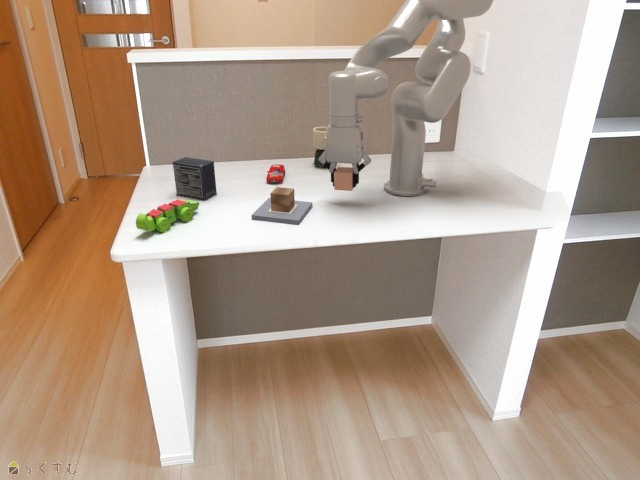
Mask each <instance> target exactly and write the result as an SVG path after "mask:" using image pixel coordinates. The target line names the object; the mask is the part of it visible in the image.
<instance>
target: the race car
mask: <svg viewBox="0 0 640 480" xmlns="http://www.w3.org/2000/svg"><path fill="white" fill-rule="evenodd" d="M266 172H267V175H266V183H267V184H270V185H271V184H273V185H275V184H277V185H278V184H283V182H284V179H285V175H286V167H285V165H284V164H271V165H270V167H269V169H268V170H267V171H266Z"/></svg>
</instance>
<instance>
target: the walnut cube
mask: <svg viewBox="0 0 640 480" xmlns="http://www.w3.org/2000/svg"><path fill="white" fill-rule="evenodd" d="M269 196H270V198H271V211H278V212H287V213H289V212H290V211H291V210H292V208H293V207H294V206H295V201H296V200H295V188H289V187H281V186H276V187H275V188H274V189H273V190H272V191H271V192H270V195H269Z"/></svg>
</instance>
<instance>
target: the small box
mask: <svg viewBox="0 0 640 480" xmlns="http://www.w3.org/2000/svg"><path fill="white" fill-rule="evenodd" d="M214 163H215V161H214V160H208V159H201V158H196V157H195V158H193V157H189V156H188V157H186V156H185V157H181V158H180V159H176V160H174V161H172V168H173V174H174V175H173V176H174V181H175V182H174V183H175V190H176V197H182V198H188V199H192V200H193V199H194V200H197V201H203V202H205V201H207V200H209V199H211V198H213V197H214V196H217V193H218V192H217V183H216V172H215V164H214Z"/></svg>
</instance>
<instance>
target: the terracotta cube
mask: <svg viewBox="0 0 640 480" xmlns="http://www.w3.org/2000/svg"><path fill="white" fill-rule="evenodd" d="M353 171H354V170H353V167H349V166H337V167H336V170H335V172H334V186H333V188H334V191H345V192H346V191H347V192H352V191H353V190H354V188H353Z"/></svg>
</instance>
